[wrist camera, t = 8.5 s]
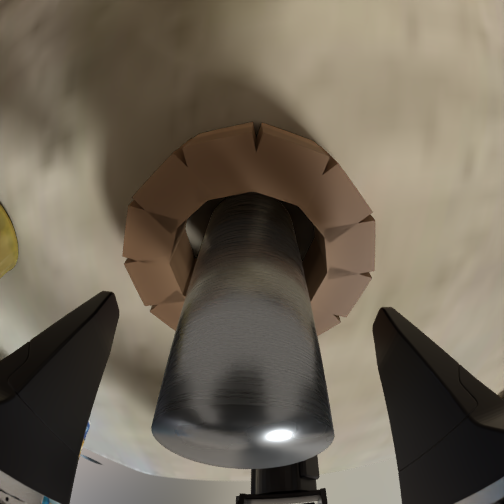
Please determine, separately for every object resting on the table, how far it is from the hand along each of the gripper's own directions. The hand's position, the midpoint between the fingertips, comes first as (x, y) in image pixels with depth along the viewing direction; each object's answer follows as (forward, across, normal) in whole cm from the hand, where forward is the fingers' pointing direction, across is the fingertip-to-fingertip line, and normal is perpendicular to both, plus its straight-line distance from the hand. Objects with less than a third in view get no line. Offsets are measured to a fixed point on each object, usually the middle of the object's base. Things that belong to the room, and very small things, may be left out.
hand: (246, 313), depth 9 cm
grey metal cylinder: (+6, 0, 0) cm, 6 cm away
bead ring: (+6, 0, 0) cm, 6 cm away
